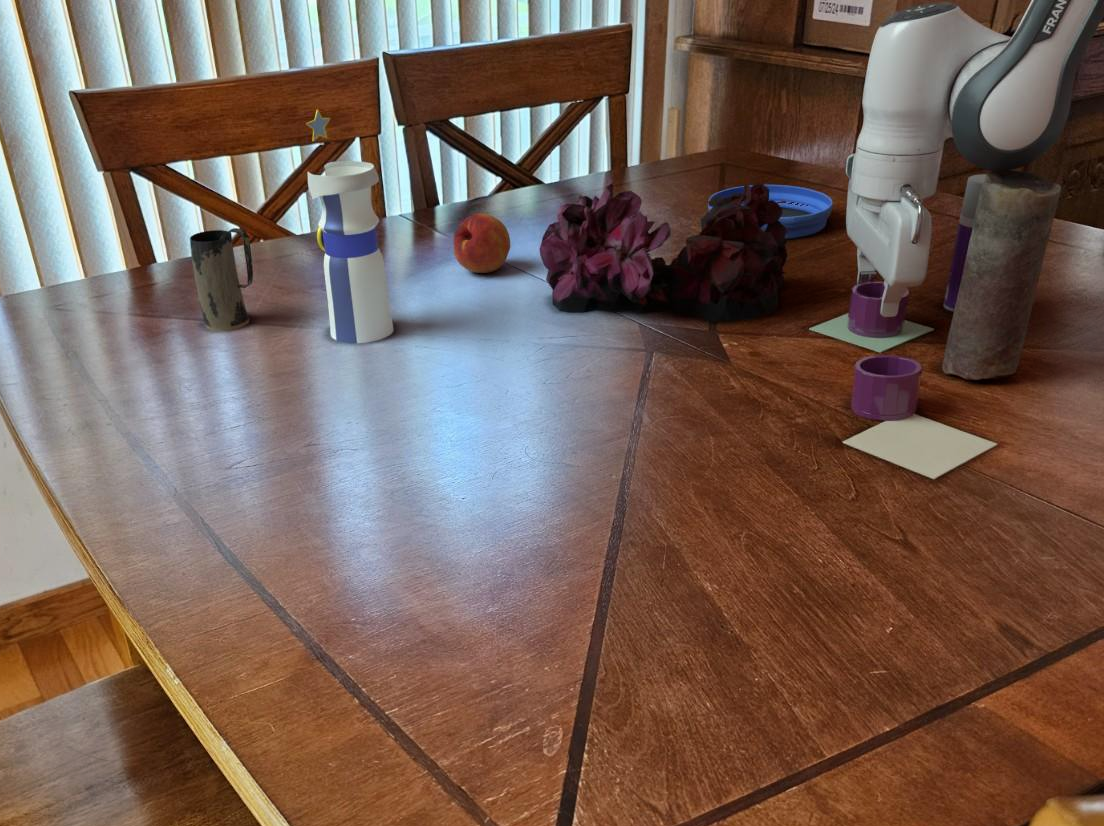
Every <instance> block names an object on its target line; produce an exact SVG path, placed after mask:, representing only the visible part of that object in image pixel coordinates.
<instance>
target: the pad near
mask: <svg viewBox="0 0 1104 826" xmlns="http://www.w3.org/2000/svg"><path fill="white" fill-rule="evenodd" d="M842 444H844V445H847V446H850V447H852V448H854V449H857V450H859V451H861V452H864V453H867V454H869V455H872V456H874V457H876V458H879V459H882V460H884V461H887V462H889V463H892V464H894V465H896V466H899V467H902V468H905V469H907V470H909V471H912V472H914V473H916V474H919V475H922V476H924V477H927V478H928V479H929V478H930V479H932V480H937V479H938V478H940V477H942V476H943V475H945V474H947V473H949V472H951V471H953V470H955V469H957V468H958V467H960V466H962V465H965V464H966V463H968V462H969V461H971V460H974V459H976V458H977V457H979V456H980V455H982V454H985V453H986V452H988V451H990V450H991V449H994V448H995V447H997V446H998V444H999V443H996V442H994V441H991V440H988V439H985V438H982V437H980V436H976V435H974V434H971V433H969V432H965V431H963V430H960V429H957V428H954V427H952V426H949V425H946V424H944V423H941V422H938V421H935V420H932V419H930V418H926V417H924V416H921V415H918V414H916V413H914V414H913V415H912V416H910V417H907V418H904V419H900V420H891V421H883V422H881V423H878V424H877V425H874V426H872V427H870V428H868V429H866V430H864V431H861V432H860V433H858V434H856V435H853V436H851V437H848V438H847V439H845V440H843V441H842Z"/></svg>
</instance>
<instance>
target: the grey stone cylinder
mask: <svg viewBox="0 0 1104 826" xmlns="http://www.w3.org/2000/svg"><path fill="white" fill-rule="evenodd" d="M985 174H986V175H985V177H984V179H983V182H982V185H981V189H980V194H979V200H978V204H977V208H976V213H975V218H974V223H973V229H972V234H971V237H970V241H969V246H968V250H967V255H966V260H965V265H964V269H963V275H962V280H961V284H960V288H959V292H958V296H957V301H956V304H955V309H954V312H953V315H952V318H951V323H950V327H949V331H948V336H947V339H946V340H947V341H946V345H945V351H944V355H943V359H942V365H941V369H942V371H943V373H944V374H946V375H953V376H956V377H960V378H962V379H965V380H967V381H979V380H996V381H997V380H999V379H1005V378H1006V377H1009V376H1011V375H1014V374H1015V373H1016V371H1017V369H1018V367H1019V364H1020V359H1021V355H1022V351H1023V347H1024V343H1025V339H1026V336H1027V331H1028V327H1029V323H1030V318H1031V314H1032V310H1033V305H1034V302H1035V298H1036V297H1035V296H1036V294H1037V289H1038V284H1039V281H1040V277H1041V272H1042V269H1043V264H1044V260H1045V255H1046V251H1047V247H1048V243H1049V240H1050V236H1051V231H1052V226H1053V222H1054V219H1055V214H1056V210H1057V207H1058V203H1059V200H1060V196H1061V193H1062V186H1061V184H1059V183H1058V182H1055V181H1054V180H1052V179H1049V178H1046V177H1044V176H1042V175H1040V174H1038V173H1036V172H1030V171H1026V170H1016V169H1013V170H1008V171H991V172H988V173H985Z"/></svg>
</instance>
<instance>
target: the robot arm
mask: <svg viewBox="0 0 1104 826" xmlns="http://www.w3.org/2000/svg"><path fill="white" fill-rule="evenodd" d="M1103 18H1104V0H1031V1H1030V3H1029V5H1028V6H1027V9H1026V10H1025V12H1024V15H1023V16H1022V18H1021V20H1020V22H1019V24H1018V26H1017V28H1016V30H1015V31H1014V33H1013V34H1012V36H1008V35H1005V34H1003V33H1000V32H997V31H995V30H993V29H991V28H988V27H986V26H985V25H983V24H981V23H980V22H978V21H977V20H975V19H974V18H972V17H971V16H970V15H968V14H967V13H966V12H964V11H963V10H962V9H961V7H960V6H959V5H958V4H956V3H952V2H948V1H946V2H944V1H943V2H942V1H941V2H940V1H939V2H928V3H923V4H918V5H914V6H909V7H906V8H903V9H902V10H898V11H896V12H894V13H892V14H891V15H889V16H888V17H887V18H886V19H885V20H884V21H883V22H882V23H881V24H880V25H879V27H878V29H877V31H876V33H875V35H874V39H873V42H872V45H871V49H870V52H869V57H868V62H867V67H866V73H865V79H864V85H863V91H862V100H861V102H862V111H863V122H862V127H861V130H860V132H859V135H858V137H857V140H856V146H855V153H852V154H850V155H848V157H847V158H846V163H845V164H846V165H845V174H846V176H847V177H848V178H849V180H848V186H847V198H846V210H845V211H846V214H845V225H846V227H845V228H846V233H847V236H848V238H849V239H850V240H851V242H852V243H853V244H854V245H855V246H856V248H857V250H856V257H857V258H856V259H857V270H858V271H857V279H856V285H858V284H860V283H866V282H877V275H878V274H879V275H880V276H881V277H882V278H883V280H884V281H883V282H884V286H885V289H884V293H883V296H882V297H880V300H879V307H878V310H879V312H880V314H881V315H882V316H883V317H894V316H896V315H897V313H898V308H899V303H900V300H901V298H902V297H903V295H904V293H905V291H906V289H908V288H913V287H915V288H917V287H920V286H921V285H922V284H923V282H924V281H925V279H926V277H927V273H928V267H929V258H930V250H931V241H932V230H933V229H932V228H933V222H932V221H933V220H932V216H931V213H930V212H929V210H928V209H927V208H926V207H925V206H924V205H923V203H924V200H925V199H927V198H930V197H932V196H934V195H935V194H936V192H937V188H938V182H939V175H940V169H941V164H942V158H943V152H944V146H945V142H946V140H947V139H951V138H952V139H953V143H954V145H955V147H956V149H957V151H958V153H960V155H961V156H962V157H963V158H964V159H965V160H966V161H967V162H968V163H970V164H971V165H973V166H975V167H977V168H979V169H982V170H986V171H991V172H995V171H1008V170H1010V171H1012V170H1016V169H1020V168H1022V167H1026V166H1028V165H1030V164H1031V163H1034V162H1035V161H1036V160H1038V159H1039V158H1041V157H1042V156H1044V155H1045V154H1046V153H1047V152H1048V151H1049V150H1050V149H1051V148H1052V147H1053V146H1054V144H1055V143H1056V142H1057V140H1058V139H1059V138H1060V136H1061V134H1062V132H1063V130H1064V128H1065V126H1066V124H1067V121H1068V118H1069V114H1070V109H1071V103H1072V97H1073V90H1074V85H1075V84H1074V83H1075V79H1076V75H1077V71H1078V69H1079V66H1080V63H1081V61H1082V59H1083V56H1084V54H1085V52H1086V50H1087V49H1088V46H1089V44H1090V43H1091V41H1092V39H1093V37H1094V35H1095V33H1096V31H1097V30H1098V28H1099V26H1100V24H1101V22H1102V20H1103ZM877 272H878V273H877Z"/></svg>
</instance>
